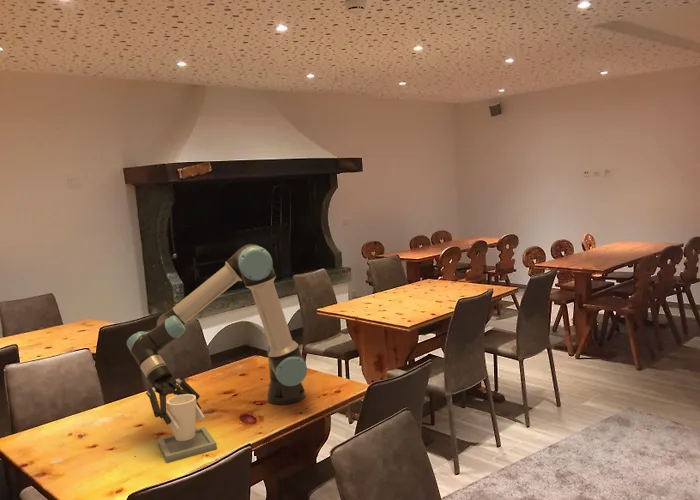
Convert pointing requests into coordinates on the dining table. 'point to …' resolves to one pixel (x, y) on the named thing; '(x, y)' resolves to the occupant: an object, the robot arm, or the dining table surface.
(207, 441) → the tray
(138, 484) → the dining table surface
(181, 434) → the foam cup
